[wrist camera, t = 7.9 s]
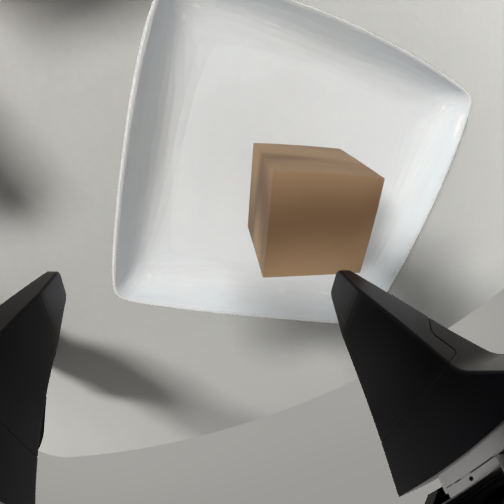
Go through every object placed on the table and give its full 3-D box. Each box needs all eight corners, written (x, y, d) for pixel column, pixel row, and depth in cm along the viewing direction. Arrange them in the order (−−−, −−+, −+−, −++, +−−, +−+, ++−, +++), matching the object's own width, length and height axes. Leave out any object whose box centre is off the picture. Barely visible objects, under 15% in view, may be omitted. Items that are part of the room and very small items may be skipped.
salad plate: (119, 275, 23) (110, 304, 20) (168, -16, 12) (161, -33, 10) (355, 302, 28) (369, 327, 25) (447, 87, 18) (476, 95, 15)
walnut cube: (326, 225, 19) (359, 272, 15) (247, 226, 18) (262, 277, 14) (340, 148, 16) (384, 178, 12) (253, 142, 16) (273, 171, 12)
